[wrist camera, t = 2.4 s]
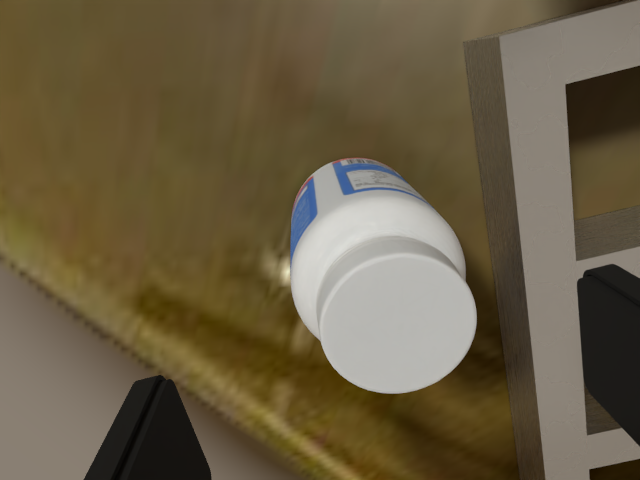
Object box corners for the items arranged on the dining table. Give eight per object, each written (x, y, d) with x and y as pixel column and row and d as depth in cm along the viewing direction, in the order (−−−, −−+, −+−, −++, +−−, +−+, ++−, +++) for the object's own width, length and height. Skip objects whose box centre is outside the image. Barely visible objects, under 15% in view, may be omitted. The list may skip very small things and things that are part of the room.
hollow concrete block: (463, 42, 19) (499, 36, 15) (736, -30, 18) (836, -52, 15) (527, 536, 28) (558, 601, 25) (708, 499, 28) (765, 559, 24)
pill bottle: (335, 293, 22) (359, 451, 13) (267, 201, 21) (239, 309, 11) (437, 229, 21) (539, 352, 12) (374, 128, 20) (437, 182, 11)
